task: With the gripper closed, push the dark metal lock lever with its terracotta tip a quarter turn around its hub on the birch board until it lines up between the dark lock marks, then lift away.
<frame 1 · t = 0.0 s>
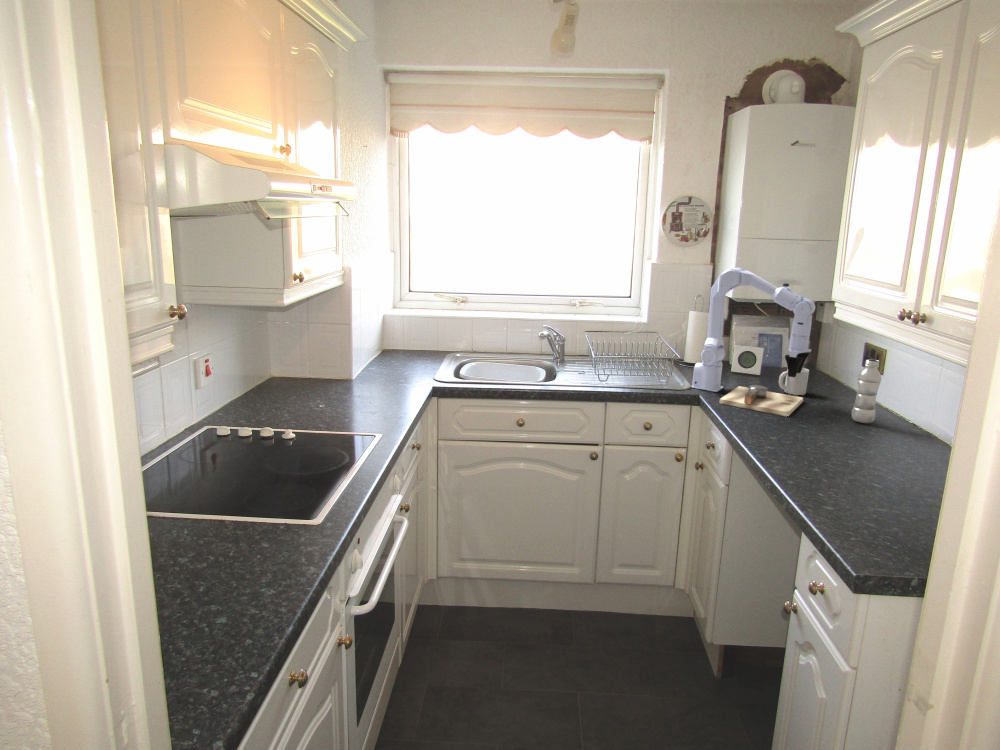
hand: (794, 374, 231), 10 cm above the countertop, tool pointing down, fingers open, 7 cm apart
plastic bottle: (861, 422, 216), on the countertop
cup: (790, 393, 247), on the countertop
lock board: (761, 402, 233), on the countertop
lock lever: (753, 394, 231), point 3 cm above the countertop, hinge at 0.0°
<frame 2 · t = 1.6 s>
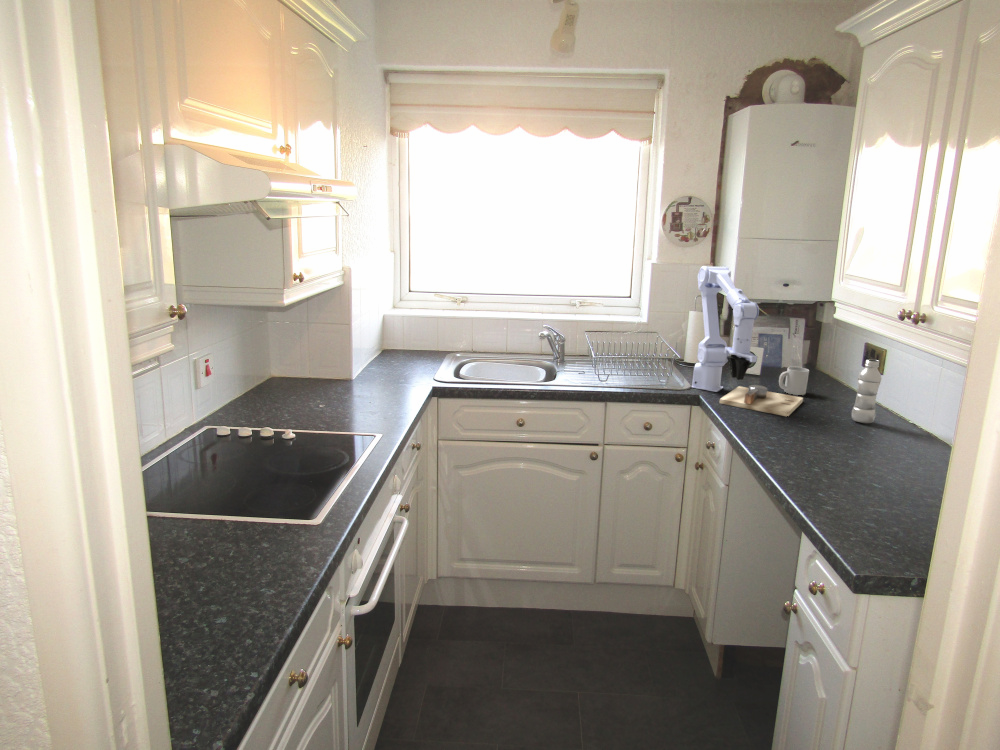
hand: (737, 378, 230), 8 cm above the countertop, tool pointing down, fingers closed
nothing on the countertop moved.
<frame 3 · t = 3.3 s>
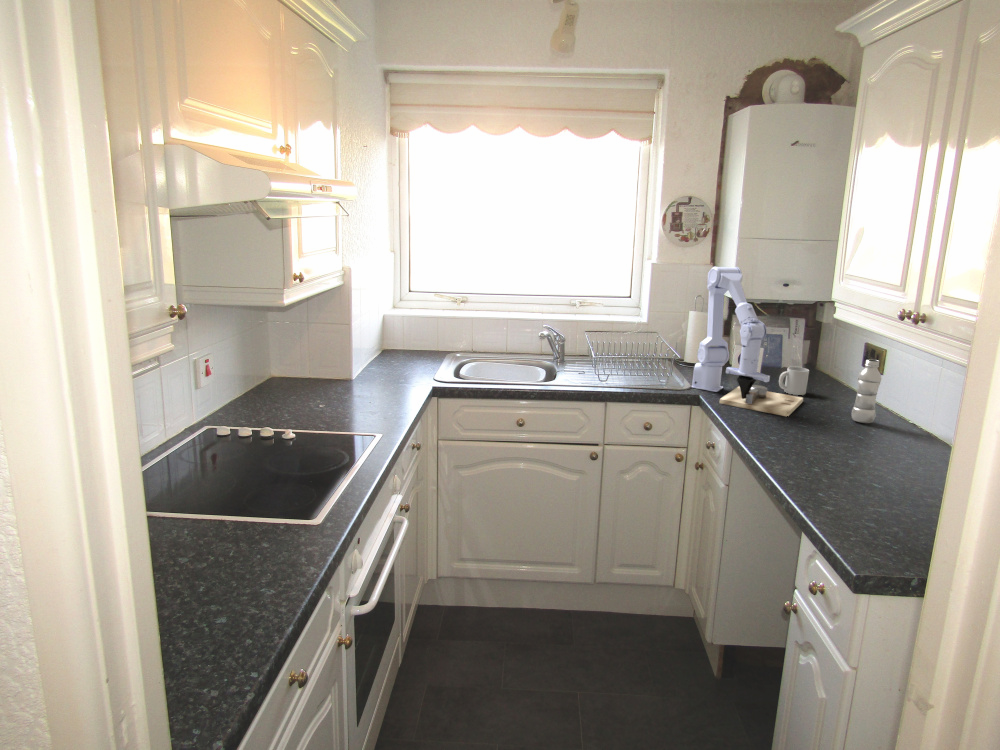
hand: (744, 398, 229), 2 cm above the countertop, tool pointing down, fingers closed
lock lever: (754, 394, 231), point 3 cm above the countertop, hinge at 1.9°, touching gripper
everything else where it was.
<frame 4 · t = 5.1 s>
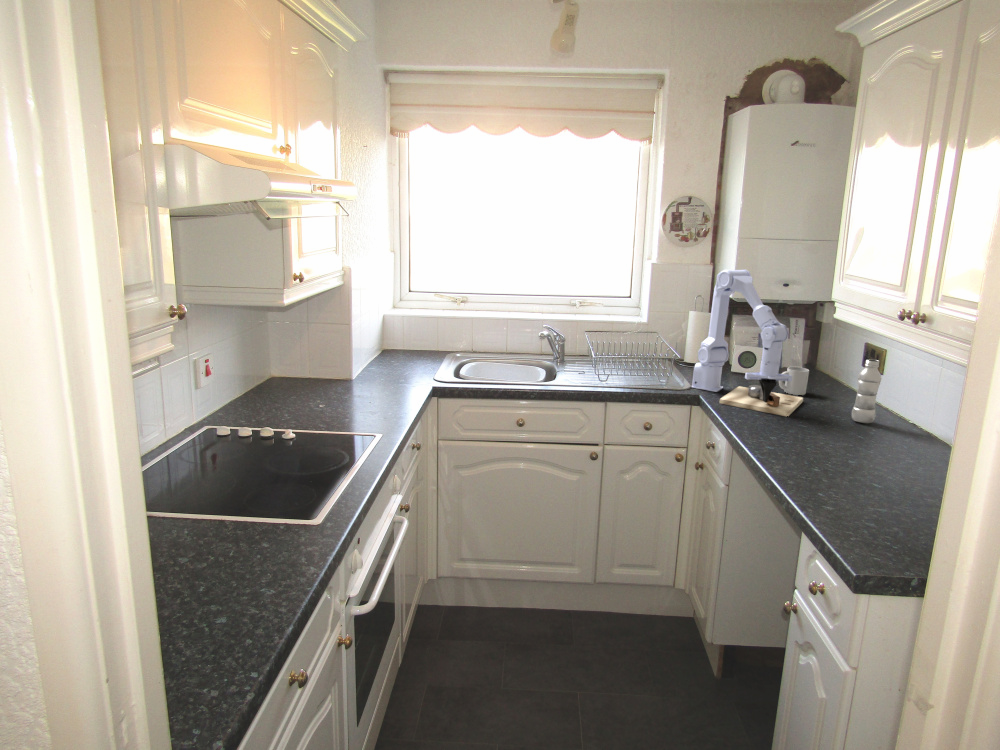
hand: (765, 401, 226), 2 cm above the countertop, tool pointing down, fingers closed
lock lever: (764, 395, 230), point 3 cm above the countertop, hinge at 43.9°, touching gripper
everything else where it was.
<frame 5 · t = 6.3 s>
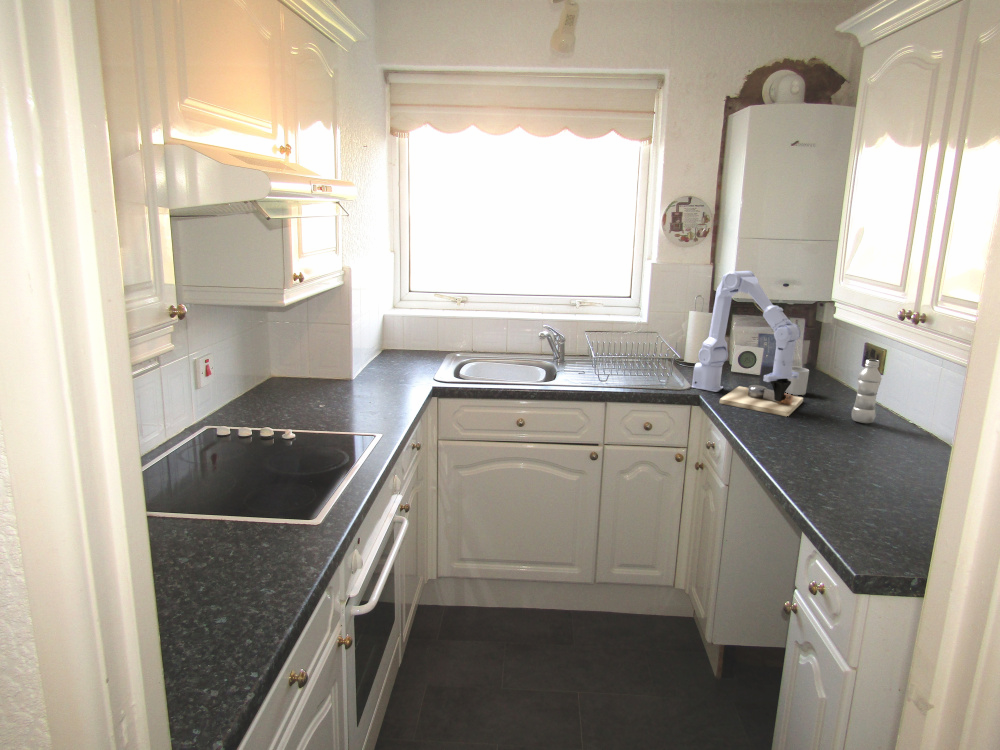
hand: (778, 400, 227), 2 cm above the countertop, tool pointing down, fingers closed
lock lever: (769, 394, 231), point 3 cm above the countertop, hinge at 74.7°, touching gripper
everything else where it was.
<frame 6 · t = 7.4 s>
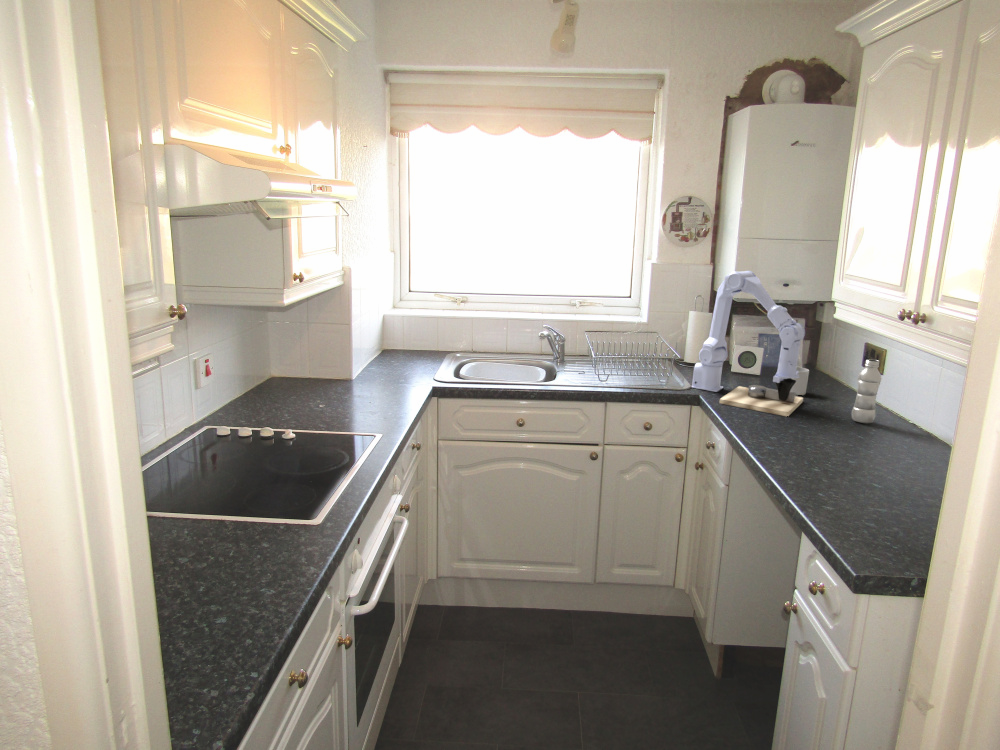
hand: (782, 400, 228), 2 cm above the countertop, tool pointing down, fingers closed
lock lever: (771, 393, 232), point 3 cm above the countertop, hinge at 92.8°, touching gripper
everything else where it was.
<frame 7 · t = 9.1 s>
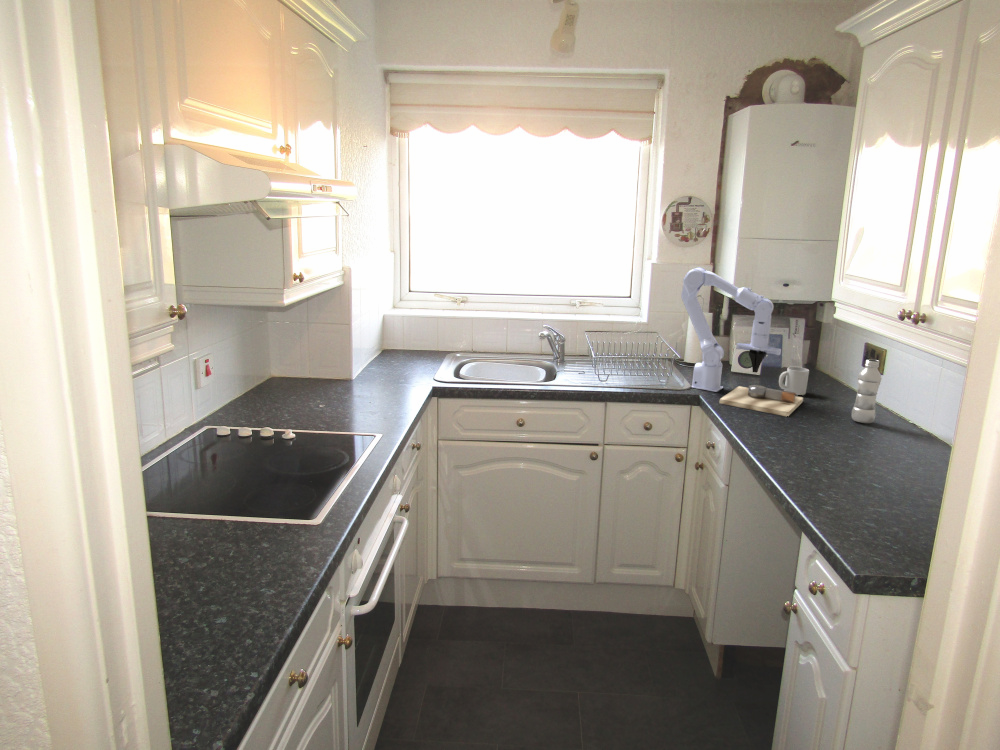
hand: (755, 371, 241), 8 cm above the countertop, tool pointing down, fingers closed
lock lever: (771, 393, 232), point 3 cm above the countertop, hinge at 92.9°
everything else where it was.
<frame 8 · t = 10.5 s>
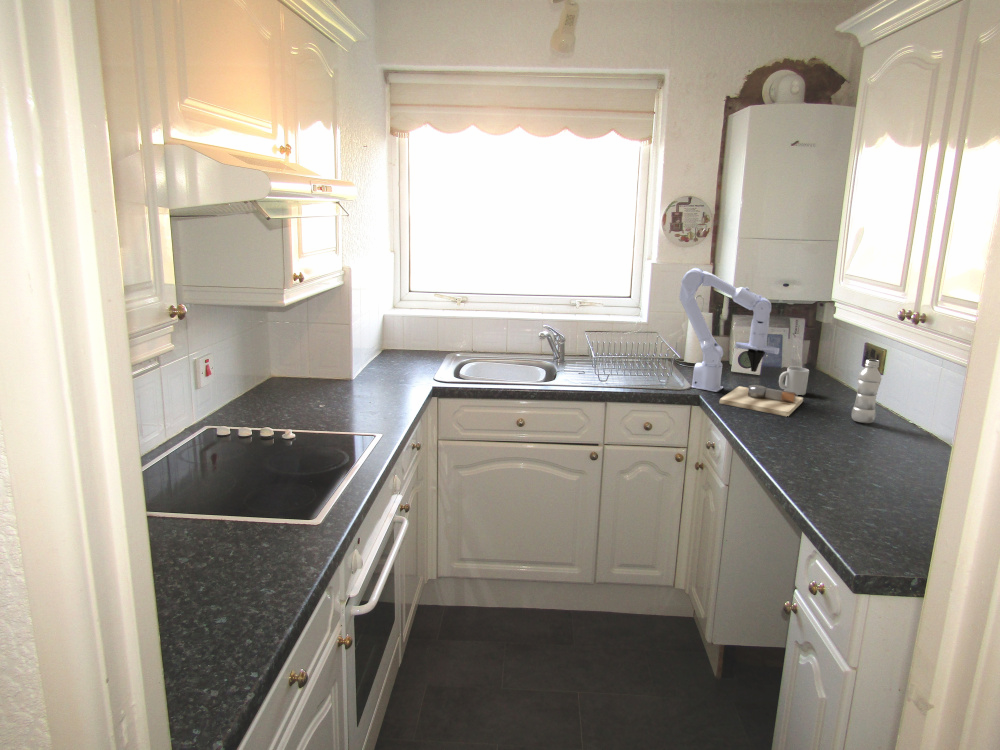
hand: (753, 371, 242), 8 cm above the countertop, tool pointing down, fingers closed
nothing on the countertop moved.
at the end: lock lever at +93° (first picture: +0°); the gripper is holding nothing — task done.
